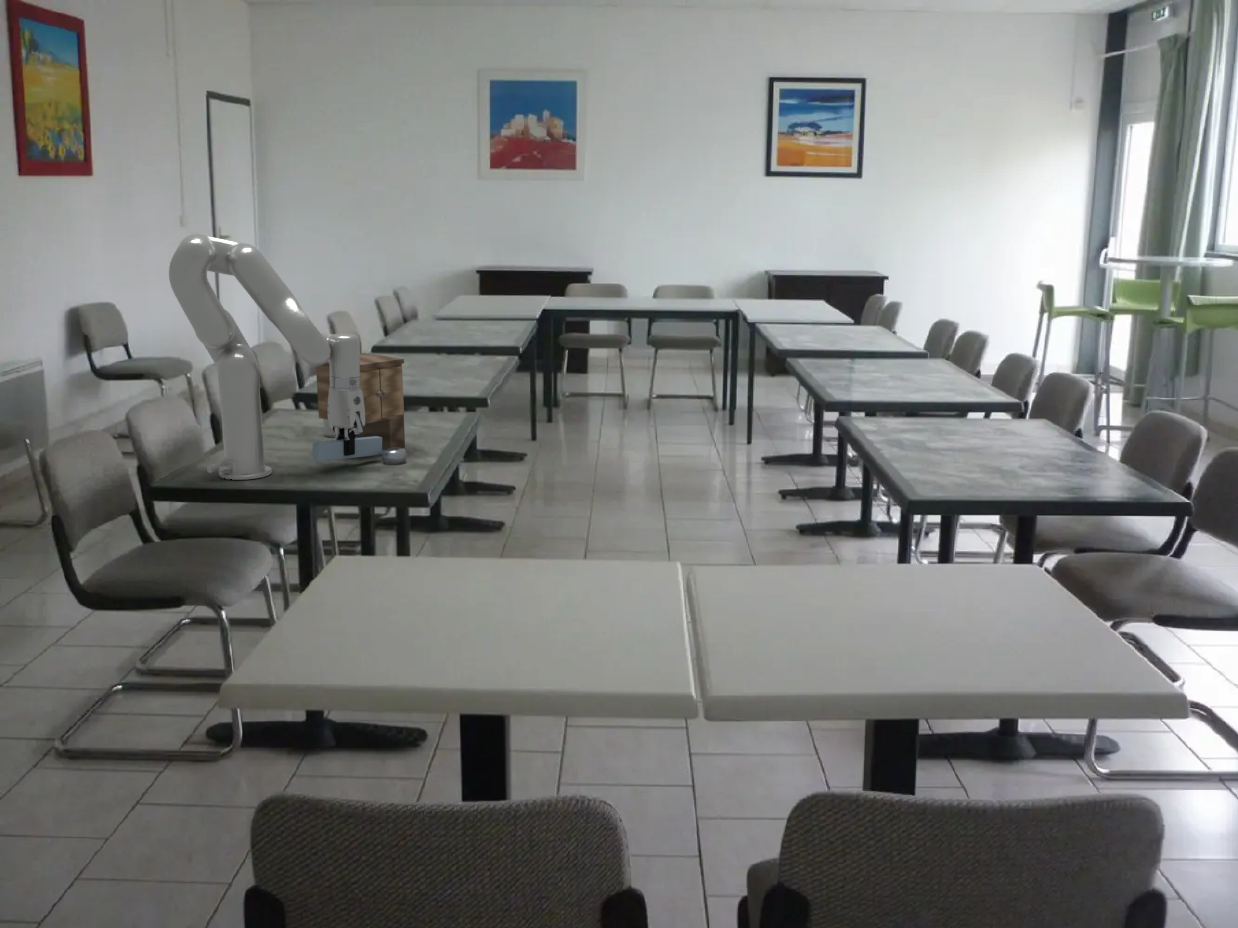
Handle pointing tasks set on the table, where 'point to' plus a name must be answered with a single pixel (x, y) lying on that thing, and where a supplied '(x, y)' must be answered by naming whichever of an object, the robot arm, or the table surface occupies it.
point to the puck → (393, 456)
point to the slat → (336, 448)
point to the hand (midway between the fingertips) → (345, 453)
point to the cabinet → (374, 397)
